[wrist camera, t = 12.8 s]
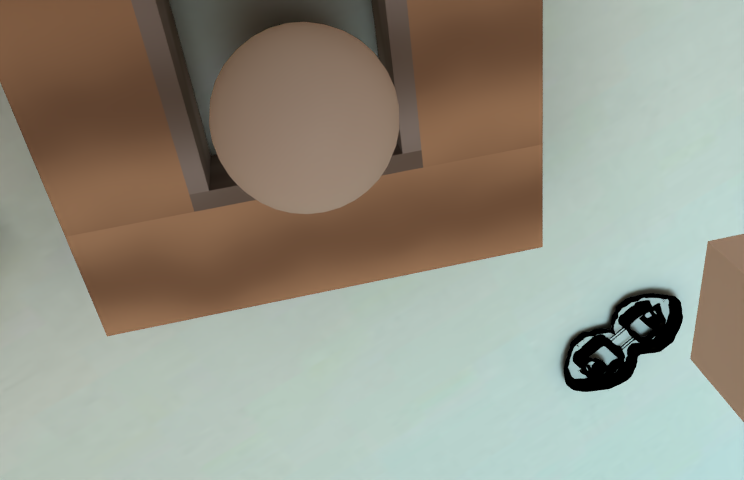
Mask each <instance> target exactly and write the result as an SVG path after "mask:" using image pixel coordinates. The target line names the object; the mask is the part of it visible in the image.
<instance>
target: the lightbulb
mask: <svg viewBox="0 0 744 480" xmlns="http://www.w3.org/2000/svg"><path fill="white" fill-rule="evenodd" d="M209 126H210V132H211V138H212V142H213V145H214V148H215V150H216V153H217V155H218V158H219V160H220V162H221V164H222V165H223V167H224V168H225V170H226V171H227V173H228V174H229V176H230V177H231V179H232V180H233V181H234V182H235V183H236V184H237V185H238V186H239V187H240V188H241V189H242V190H243V191H245V192H246V193H247V194H249V195H250V196H252V197H253V198H254V199H256V200H257V201H259V202H260V203H262V204H265V205H267V206H269V207H271V208H274V209H276V210H280V211H285V212H289V213H297V214H313V213H322V212H327V211H330V210H334V209H337V208H340V207H342V206H344V205H347V204H349V203H351V202H353V201H355V200H356V199H357V198H359V197H360V196H362V195H363V194H364V193H366V192H367V191H368V190H369V189H370V188H371V187H372V186H373V185H374V184H375V183H376V182H377V181H378V180H379V178H380V177H381V175H382V174H383V172H384V171H385V169H386V168H387V166H388V164H389V162H390V159H391V157H392V154H393V152H394V149H395V147H396V143H397V138H398V133H399V104H398V100H397V95H396V90H395V87H394V85H393V83H392V80H391V78H390V76H389V74H388V72H387V70H386V69H385V67H384V66H383V64H382V63H381V62H380V60H379V59H378V57H377V56H376V55H375V53H374V52H373V51H372V50H371V49H369V48H368V47H367V46H366V45H365V44H364V43H363V42H362V41H361V40H359V39H357V38H356V37H354V36H352V35H350V34H349V33H347V32H345V31H343V30H340V29H337V28H334V27H331V26H328V25H325V24H319V23H311V22H294V23H285V24H281V25H278V26H274V27H271V28H268V29H266V30H264V31H262V32H260V33H258V34H256V35H254V36H253V37H251V38H250V39H249V40H248V41H246V42H245V43H244V44H243V45H241V46H240V47H239V48H238V49H237V50H236V51H235V52H234V53H233V54H232V55H231V57H230V58H229V59H228V60H227V62H226V63H225V64H224V65H223V67H222V69H221V71H220V73H219V75H218V77H217V79H216V81H215V84H214V88H213V91H212V95H211V98H210V114H209Z"/></svg>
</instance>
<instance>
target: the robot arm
mask: <svg viewBox="0 0 744 480" xmlns="http://www.w3.org/2000/svg"><path fill="white" fill-rule="evenodd" d="M690 359H691V360H692V361H693V363H694V364H695V365H696V366H697V367H698V368H699V370H700V371H701V372H702V373H703V374H704V376H705V377H706V378H707V379H708V380H709V381H710V383H711V384H712V385H713V386H714V387H715V389H716V390H717V391H718V392H719V393H720V395H721V396H722V397H723V398H724V399H725V400H726V402H727V403H728V404H729V405H730V406H731V408H732V409H733V410H734V411H735V412H736V413H737V415H738V416H739V417H740V418H741V419H742V421H743V422H744V234H741V235H736V236H731V237H726V238H722V239H717V240H712V241H708V244H707V251H706V258H705V264H704V271H703V278H702V284H701V291H700V298H699V305H698V311H697V318H696V325H695V331H694V338H693V345H692V352H691V358H690Z"/></svg>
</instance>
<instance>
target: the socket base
mask: <svg viewBox="0 0 744 480" xmlns="http://www.w3.org/2000/svg"><path fill="white" fill-rule="evenodd" d="M372 8H373V16H374V24H375V32H376V40H377V48H378V56H379V60H380V62H381V63H382V64H383V66H384V67H385V69H386V70H387V72H388V74H389V76H390V78H391V80H392V83H393V85H394V87H395V90H396V95H397V100H398V104H399V133H398V138H397V143H396V147H395V149H394V152H393V154H392V157H391V159H390V162H389V164H388V166H387V168H386V169H385V171H384V172H383V174H382V175H381V177H380V178H379V180H378V181H377V182H376V183H375V184H374V185H373V186H372V187H371V188H370V189H369V190H368V191H367V192H366V193H364V194H363V195H362V196H360V197H359V198H357V199H356V200H355V201H353V202H351V203H349V204H347V205H344V206H342V207H340V208H337V209H334V210H330V211H327V212H322V213H313V214H297V213H289V212H285V211H280V210H276V209H274V208H271V207H269V206H267V205H265V204H262V203H260V202H259V201H257V200H256V199H254V198H253V197H252V196H250V195H249V194H247V193H246V192H245V191H243V190H242V189H241V188H240V187H239V186H238V185H237V184H236V183H235V182H234V181H233V180H232V179H231V177H230V176H229V174H228V173H227V171H226V170H225V168H224V167H223V165H222V164H221V162H220V160H219V158H218V155H212V156H211V154H210V150H209V146H208V143H207V139H206V135H205V132H204V128H203V124H202V121H201V117H200V113H199V110H198V106H197V102H196V99H195V95H194V91H193V88H192V84H191V80H190V77H189V73H188V69H187V66H186V62H185V58H184V55H183V51H182V47H181V44H180V40H179V36H178V33H177V29H176V25H175V22H174V18H173V14H172V11H171V7H170V3H169V0H0V82H1V85H2V87H3V90H4V92H5V94H6V97H7V99H8V101H9V104H10V106H11V109H12V111H13V113H14V116H15V118H16V120H17V123H18V125H19V128H20V130H21V132H22V135H23V137H24V139H25V142H26V144H27V147H28V149H29V151H30V154H31V156H32V158H33V161H34V163H35V166H36V168H37V170H38V173H39V175H40V178H41V180H42V182H43V185H44V187H45V189H46V192H47V194H48V197H49V199H50V201H51V204H52V206H53V208H54V211H55V213H56V216H57V218H58V220H59V223H60V225H61V227H62V230H63V232H64V235H65V237H66V239H67V242H68V244H69V247H70V249H71V251H72V254H73V256H74V258H75V261H76V263H77V266H78V268H79V270H80V273H81V275H82V277H83V280H84V282H85V285H86V287H87V289H88V292H89V294H90V296H91V299H92V301H93V304H94V306H95V308H96V311H97V313H98V315H99V318H100V320H101V323H102V325H103V327H104V330H105V332H106V335H107V336H111V335H115V334H120V333H125V332H130V331H135V330H140V329H145V328H150V327H154V326H159V325H164V324H169V323H174V322H179V321H184V320H189V319H193V318H198V317H203V316H208V315H213V314H218V313H223V312H228V311H232V310H237V309H242V308H247V307H252V306H257V305H262V304H266V303H271V302H276V301H281V300H286V299H291V298H296V297H301V296H305V295H310V294H315V293H320V292H325V291H330V290H335V289H340V288H344V287H349V286H354V285H359V284H364V283H369V282H374V281H379V280H383V279H388V278H393V277H398V276H403V275H408V274H413V273H418V272H422V271H427V270H432V269H437V268H442V267H447V266H452V265H456V264H461V263H466V262H471V261H476V260H481V259H486V258H491V257H495V256H500V255H505V254H510V253H515V252H520V251H525V250H530V249H534V248H539V247H542V121H543V0H372Z"/></svg>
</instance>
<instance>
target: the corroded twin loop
mask: <svg viewBox="0 0 744 480" xmlns="http://www.w3.org/2000/svg"><path fill="white" fill-rule="evenodd" d="M644 297H645V298H661V299H663V300H664V299H668V300H669V304H668V306H669V316H668V319H667V322H666V319H665V317H664V315H663V313H662V310H661V306H660V305H661V304H660V303H658V304H656V305H654V306H653V307H652V305H651V303H650V301H649V300H645V301H639V300H640V299H641V298H644ZM636 301H639V302H636ZM631 302H636V303H635V305H634V306H632V307H630V308H629V309H628V310H627V311H626V312H625V313H624V314H622V315H620V317H619V319H618V322H619V324H620V325H621V326H622V329H623V328H625V330H627V331H628V333H629V335H630V336H631V339H633V338H634V339H633V340H632V341H634V340H637V341H638V342H639V343H632V344H631V345H630V346H629V347H628V349H627V355H628V356H627V357H626V361H625V362H624V359H625V355H624V353H623V351H622V350H623V349H624V348H625V347H626V346H627V345H629V344H630V343H631V342H632V341H631V342H630V343H629V344H627V345H626V346H625V347H624V348H623V349H622V348H621V347H622V346H623V345H625V344H626V343H627V342H628V341H629V340H631V339H629V340H628V341H627V342H626V343H625V344H623V345H622V346H621V347H620V346H618V345H615V344H614V343H612V341H613V340H614V339H615V338H616V337H617V336H619V335H620V334H621V333H622V332H623V331H625V330H623V331H622V332H621V333H620V334H619V335H617V336H616V337H615V338H614V339H613V340H610V339H611V338H612V337H613V336H615V335H616V334H617V333H618V332H619V331H621V330H622V329H620V330H619V331H618V332H617V333H616V334H615V331H614V324H615V321H616V319H617V318H618V313H619V311H620V310H621V309H622V308H624V307H626V306H627V305H628V304H630V303H631ZM663 302H664V301H663ZM615 308H616V309H615V312H614V314H613V315H612V319H611V325H612V327H611V329H609V330H608V329H603V328H599V329H594V330H592V331H590V332H582V333H581V334H579V335H578V336H577V337H576V338H575V339H574V340H572V342H571V343H570V349H569V351H568V354H567V358H566V361H565V366H564V376H565V382H566V384H567V386H569V387H570V388H571V389H573V390H576V391H582V392H589V391H597V390H605V389H610V388H613V387H615V386H617V385H619V384H621V383H623V382H625V381H627V380H628V379H629V378H630V377H631V376H632V374H633V372H634V370H635V368H636V364H637V358H638V356H639V355H640V354H647V353H656V352H660V351H662V350H663V349H664V348H666V347H667V346H668V345H669V344H671V343H672V342H673V341H674V339H675V336H676V334H677V332H678V331H679V329H680V326H681V323H682V319H683V315H682V307H681V302H680V300H678V299H677V298H676V297H675V296H670V295H664V294H654V293H650V294H641V295H637V296H632V297H629V298H626V299H625V300H623V301H622V302H621V303H620V304H618V305H617V306H616V307H615ZM653 311H656V313H657V314H655V313H654V312H653ZM648 312H650V313H651V315H652V316H651V317H649V318H646V317H645V314H646V313H648ZM641 315H643V316H642V317H641V318H639V319H640V320H641V321H643V322H644V323H645V324H646V325H647V326H648V327H650V328H651V329H652V330H651V331H650V332H649V333H648V335H647V336H645V337H640V336H639V335H638V334H637V333H636V332H635V331H633V330H632V329H631V328H630V324H632V323H633V322H634V321H635V320H636V319H637V318H638V317H640V316H641ZM665 323H666V324H665ZM603 333H612V334H614V335H613V336H612V337H611V338H610V339H609V338H607V337H605V336H604V335H602V334H603ZM597 334H599V335H597ZM595 335H596V336H595ZM588 336H594V337H592V339H590V340H589V341H588V342H587V343H586V344H585V345H583V346H582V348H581V349H580V350H578V351H576V352H575V353H574V355H573V362H574V363H575V364H576V365H577V366H578V367H579V368H581V369H582V370H578V371H580V372H581V373H582V374H584V375H586V376H587V378H585V379H574V378H573V377H571V374H570V371H569V369H568V366H569V362H570V357H571V354H572V351H573V348H574V347H575V346H576V345H577V344H578V343H579V342H580V341H582V340H583V339H584V338H585V337H588ZM653 337H655V338H654V339H652V338H653ZM577 346H578V345H577ZM603 346H605V347H606V348H608V349H609V350H610V351H611V352H612V353H613V354H614V355H615V356H617V357H618V358H617V359H615V360H613V361H611V362H610V364H609V365H608V366H607V365H606V364H605V362H604V361H603V360H600V359H598V358H594V359H592V358H590V356H591V355H592V354H594V353H595V352H596V351H597V350H598V349H600V348H601V347H603ZM591 361H593V362H595V363H594V364H593V365H592V367H590V365H588V363H589V362H591ZM586 367H587V368H588V371H587V369H586ZM617 369H618V370H617ZM605 372H606V373H605ZM614 372H615V373H614ZM604 373H605V374H604Z"/></svg>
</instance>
